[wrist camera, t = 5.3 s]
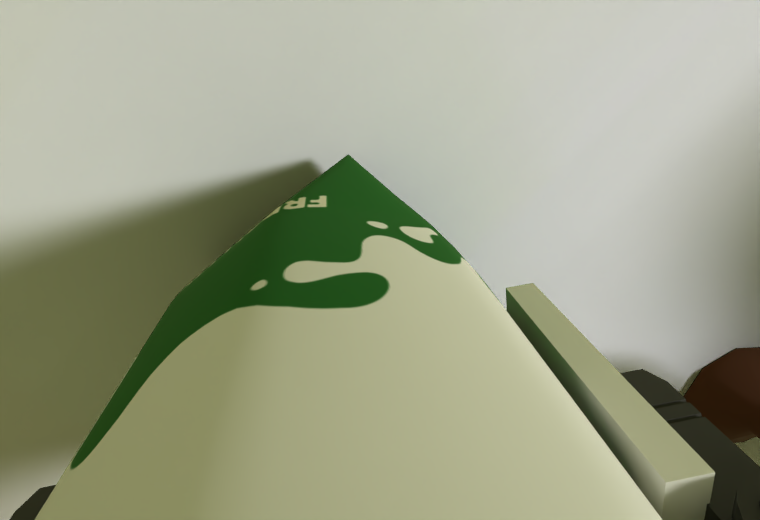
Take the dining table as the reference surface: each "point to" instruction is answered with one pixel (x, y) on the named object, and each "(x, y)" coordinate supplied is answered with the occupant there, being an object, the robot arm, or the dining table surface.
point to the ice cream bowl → (730, 394)
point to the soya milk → (342, 388)
